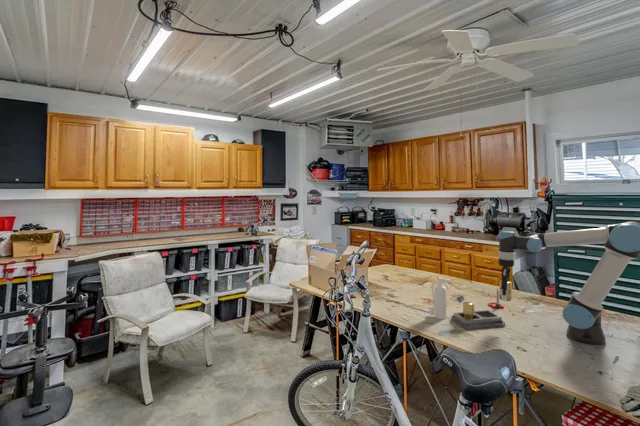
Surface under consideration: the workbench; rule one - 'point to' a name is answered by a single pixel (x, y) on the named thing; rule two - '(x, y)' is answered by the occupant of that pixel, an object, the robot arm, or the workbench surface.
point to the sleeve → (509, 290)
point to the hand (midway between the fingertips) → (504, 298)
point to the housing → (476, 318)
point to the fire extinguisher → (439, 299)
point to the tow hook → (496, 302)
